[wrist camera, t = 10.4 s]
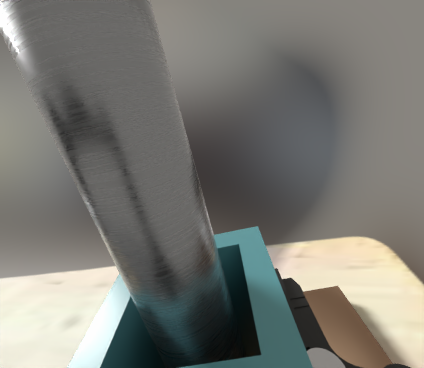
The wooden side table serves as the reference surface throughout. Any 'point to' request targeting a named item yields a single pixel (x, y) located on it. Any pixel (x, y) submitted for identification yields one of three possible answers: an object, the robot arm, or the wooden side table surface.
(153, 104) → the pipe
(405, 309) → the wooden side table surface
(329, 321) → the stand board
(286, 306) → the sleeve
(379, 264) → the wooden side table surface
